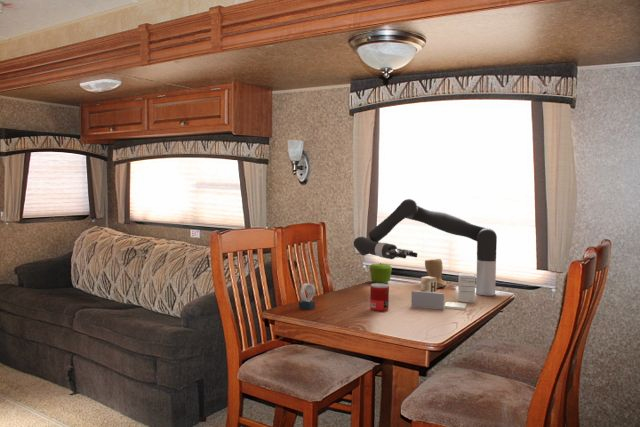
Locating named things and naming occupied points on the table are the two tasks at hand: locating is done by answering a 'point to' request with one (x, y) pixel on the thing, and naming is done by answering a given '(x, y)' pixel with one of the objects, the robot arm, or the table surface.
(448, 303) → the mat
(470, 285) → the supplement box
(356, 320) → the table surface
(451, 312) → the table surface
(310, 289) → the snow globe
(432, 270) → the tan boot
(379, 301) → the canned food
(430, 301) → the screen
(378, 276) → the apple
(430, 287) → the marked block
